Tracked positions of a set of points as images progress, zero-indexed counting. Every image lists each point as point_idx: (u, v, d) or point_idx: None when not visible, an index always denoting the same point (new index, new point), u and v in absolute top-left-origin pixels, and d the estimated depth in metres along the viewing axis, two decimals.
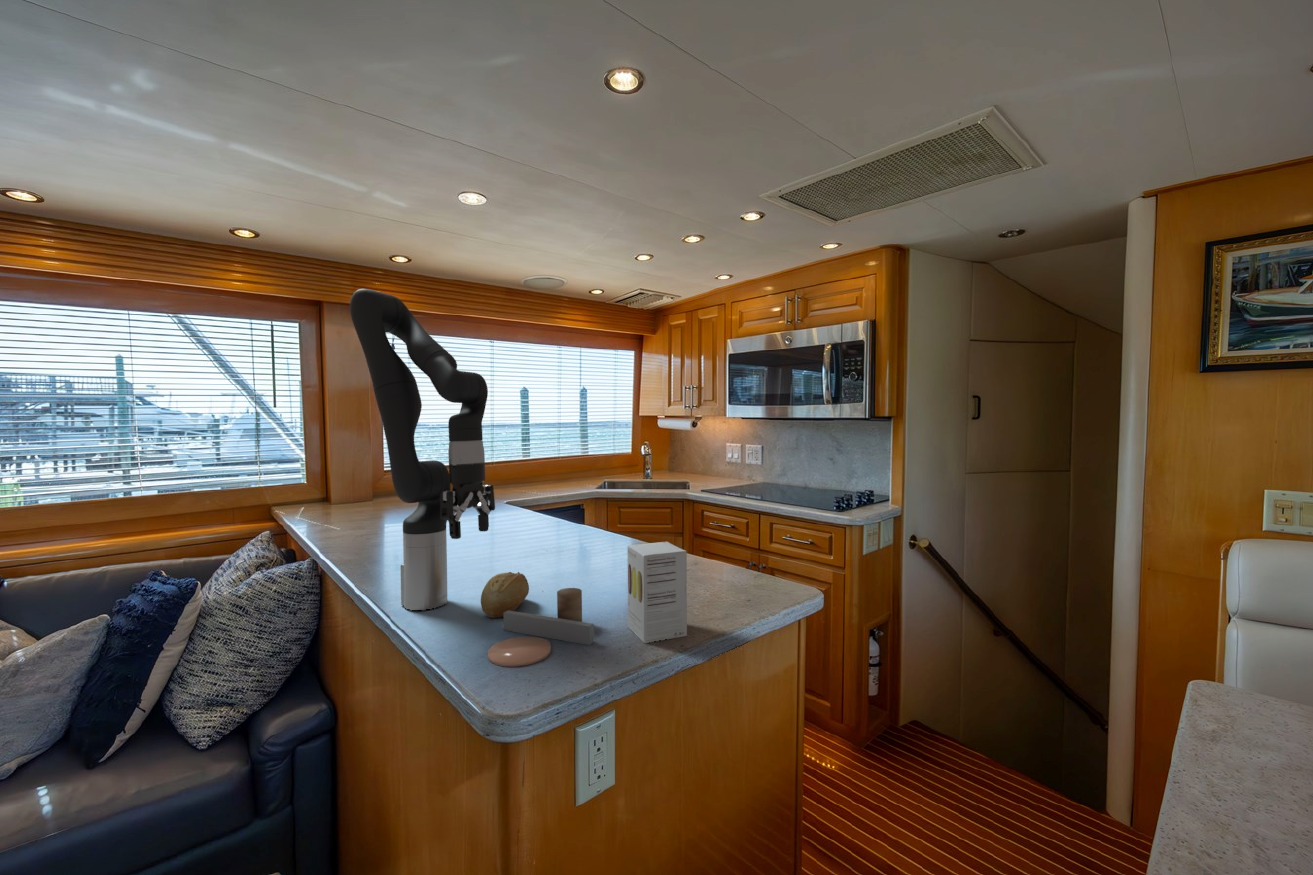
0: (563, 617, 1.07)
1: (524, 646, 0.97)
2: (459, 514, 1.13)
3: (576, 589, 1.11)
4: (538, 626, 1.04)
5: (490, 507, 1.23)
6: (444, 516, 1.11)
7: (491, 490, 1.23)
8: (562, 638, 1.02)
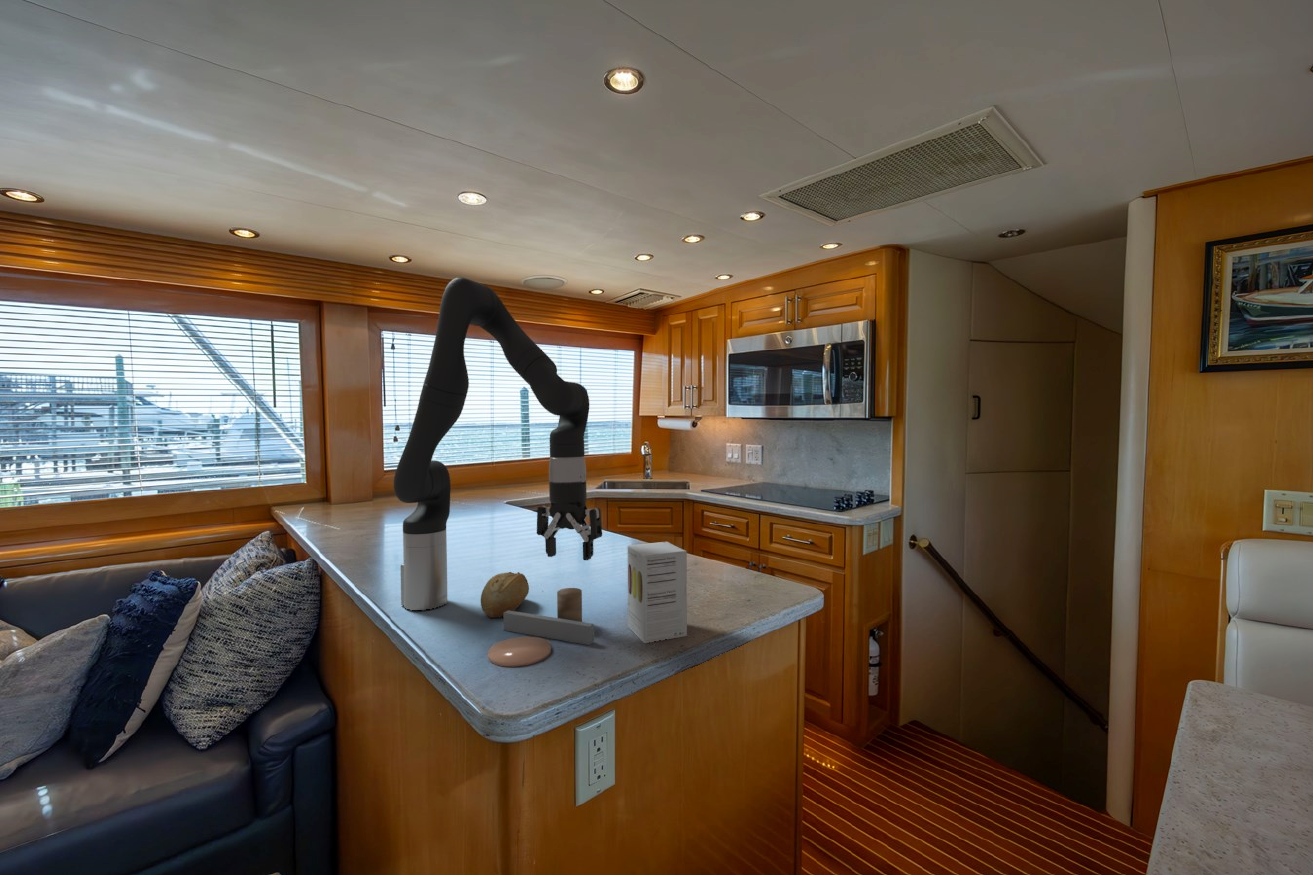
0: (563, 617, 1.07)
1: (524, 646, 0.97)
2: None
3: (576, 589, 1.11)
4: (538, 626, 1.04)
5: None
6: (598, 534, 1.06)
7: None
8: (562, 638, 1.02)
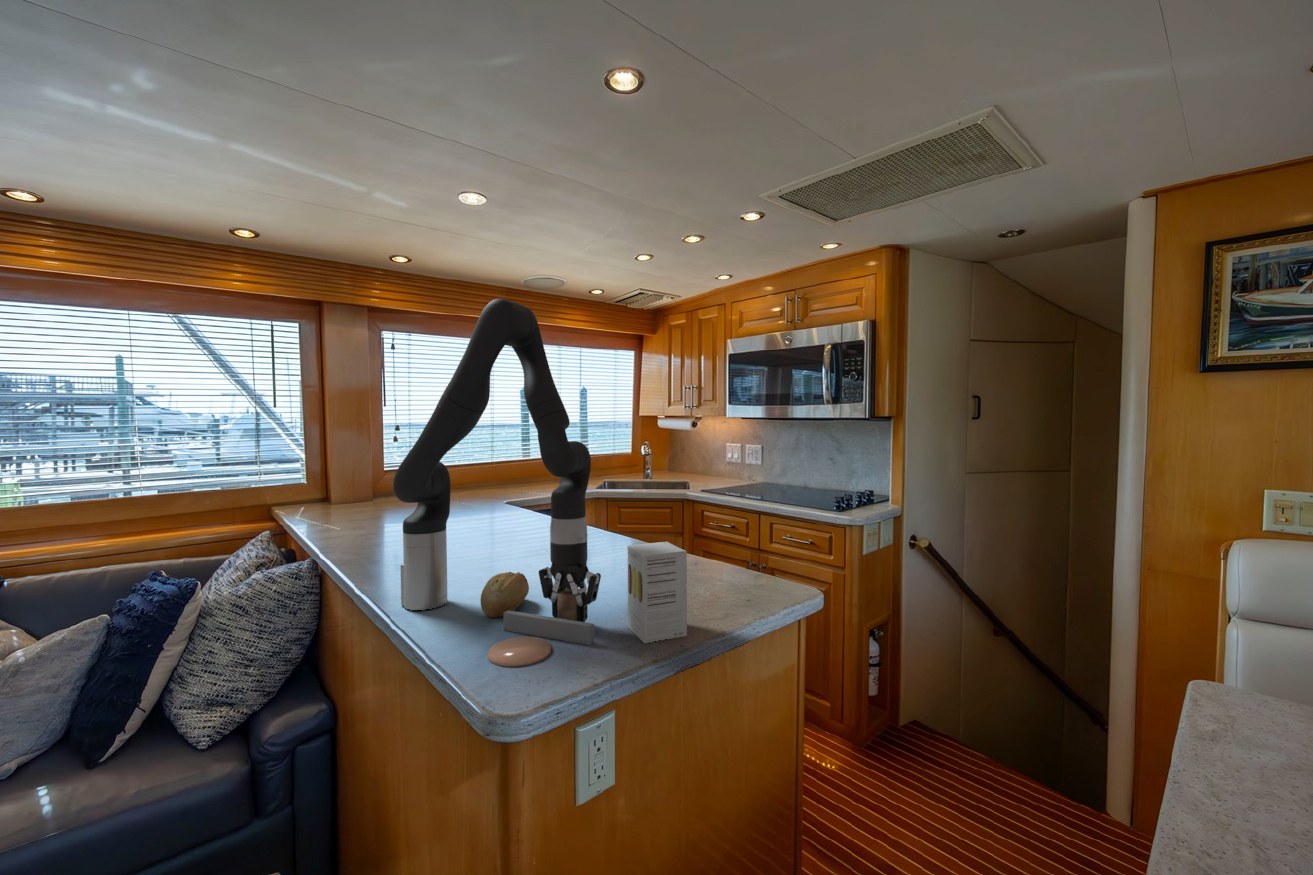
0: (563, 617, 1.07)
1: (524, 646, 0.97)
2: None
3: None
4: (538, 626, 1.04)
5: None
6: (593, 599, 1.07)
7: None
8: (562, 638, 1.02)
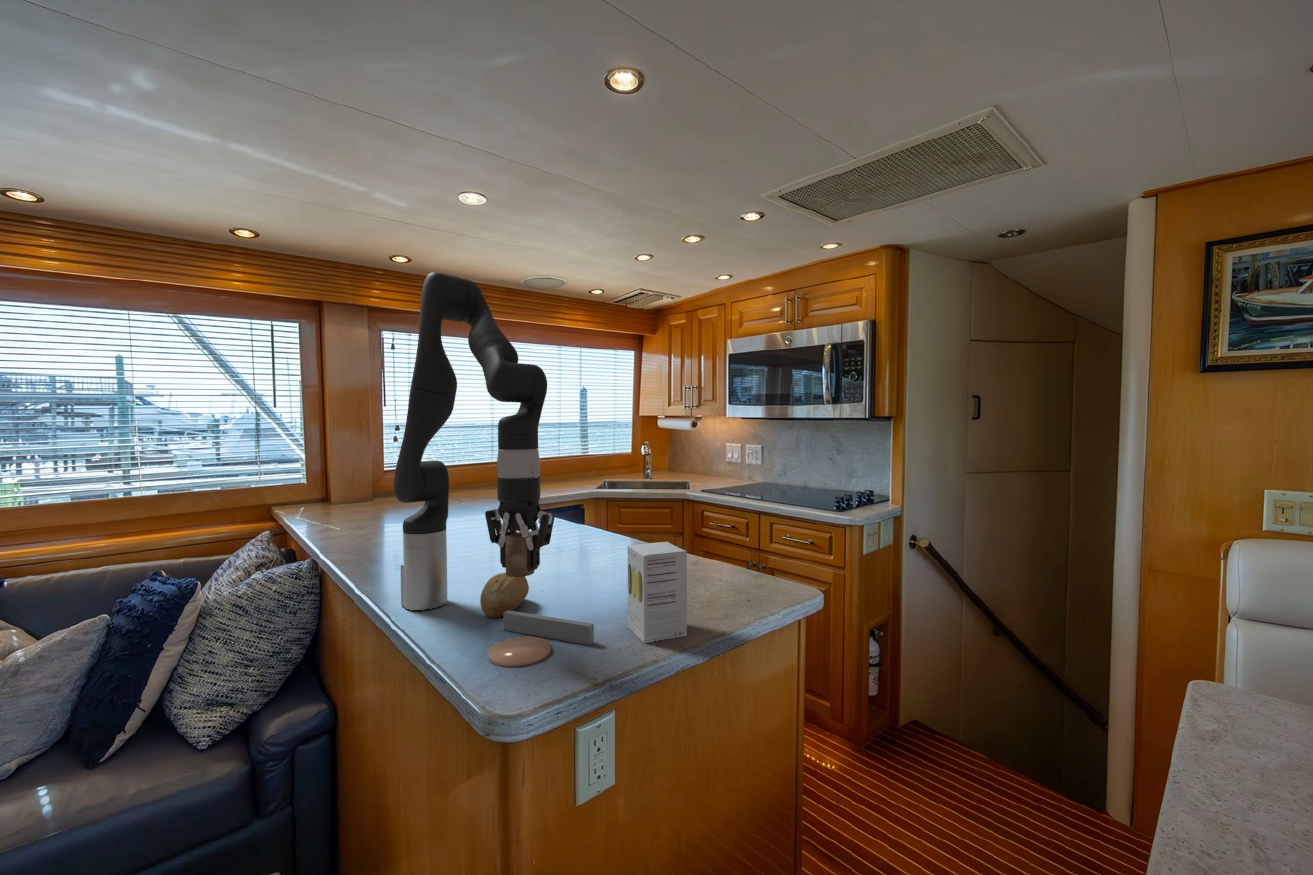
0: (511, 563, 0.94)
1: (524, 646, 0.97)
2: None
3: None
4: (538, 626, 1.04)
5: None
6: (545, 542, 0.94)
7: None
8: (562, 638, 1.02)
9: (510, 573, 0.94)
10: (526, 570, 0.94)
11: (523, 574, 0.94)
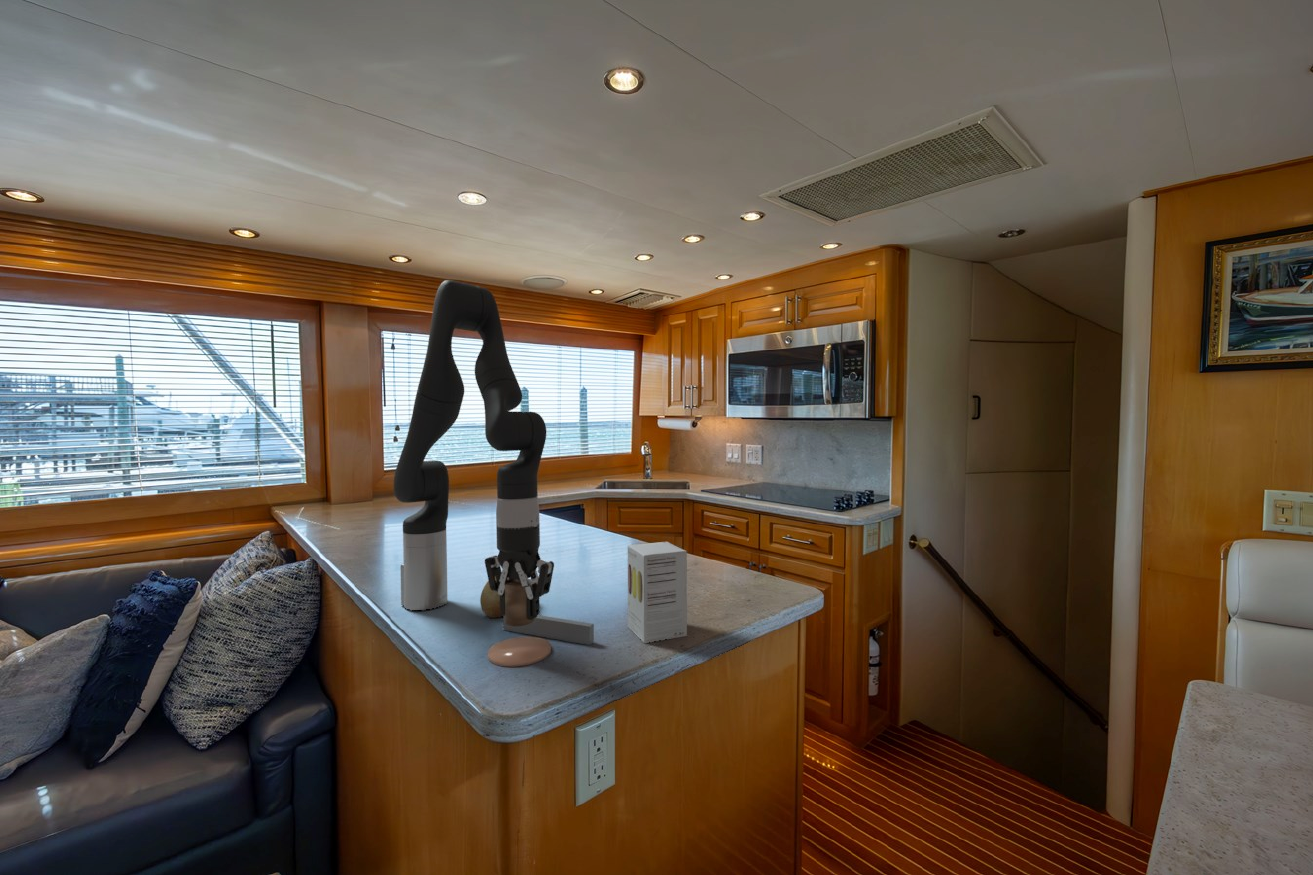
0: (511, 612, 0.94)
1: (524, 646, 0.97)
2: None
3: None
4: (538, 626, 1.04)
5: None
6: (545, 591, 0.94)
7: None
8: (562, 638, 1.02)
9: (510, 622, 0.94)
10: (526, 619, 0.94)
11: (523, 623, 0.94)
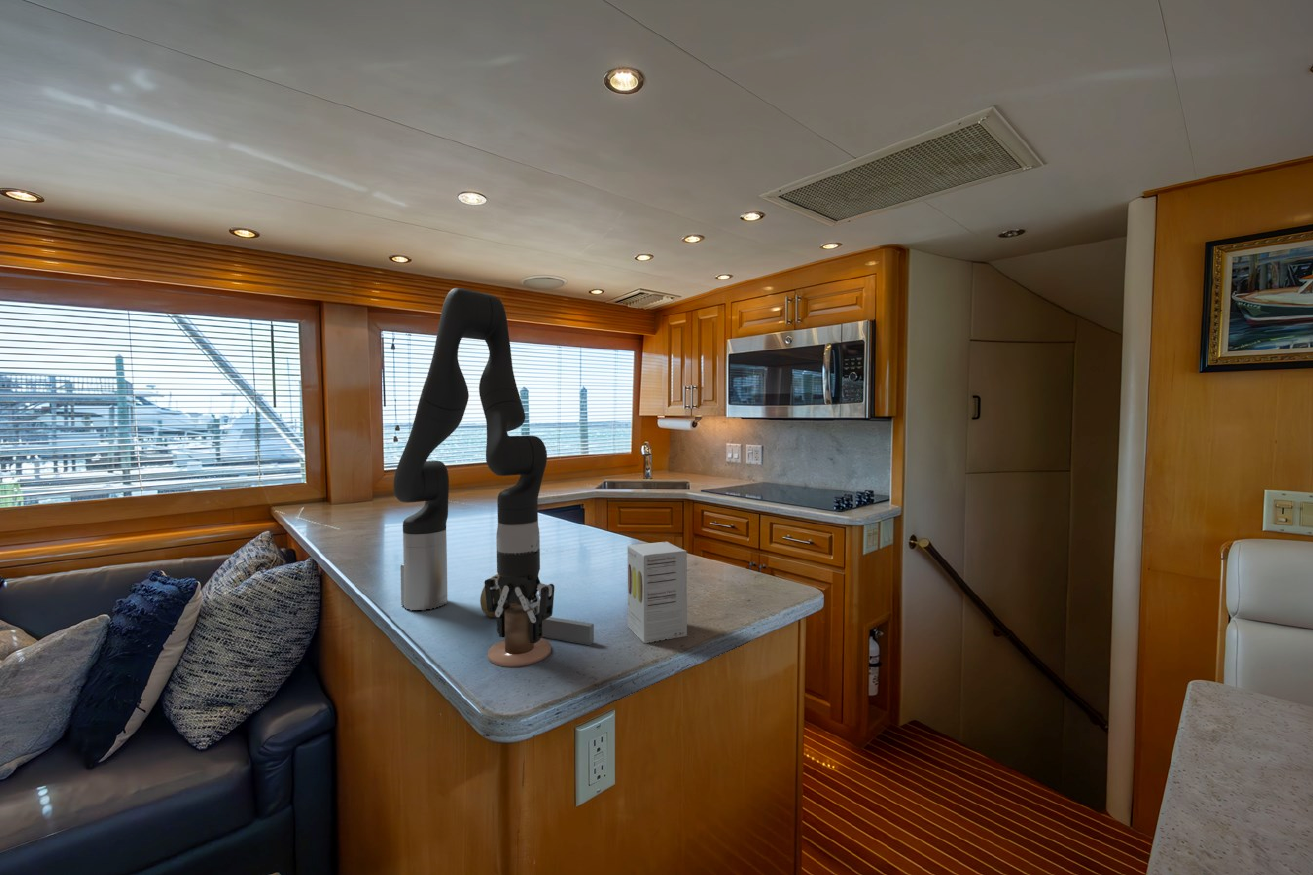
0: (510, 640, 0.94)
1: None
2: None
3: None
4: None
5: None
6: (548, 615, 0.94)
7: None
8: (562, 638, 1.02)
9: (509, 650, 0.94)
10: (525, 647, 0.94)
11: (522, 651, 0.94)
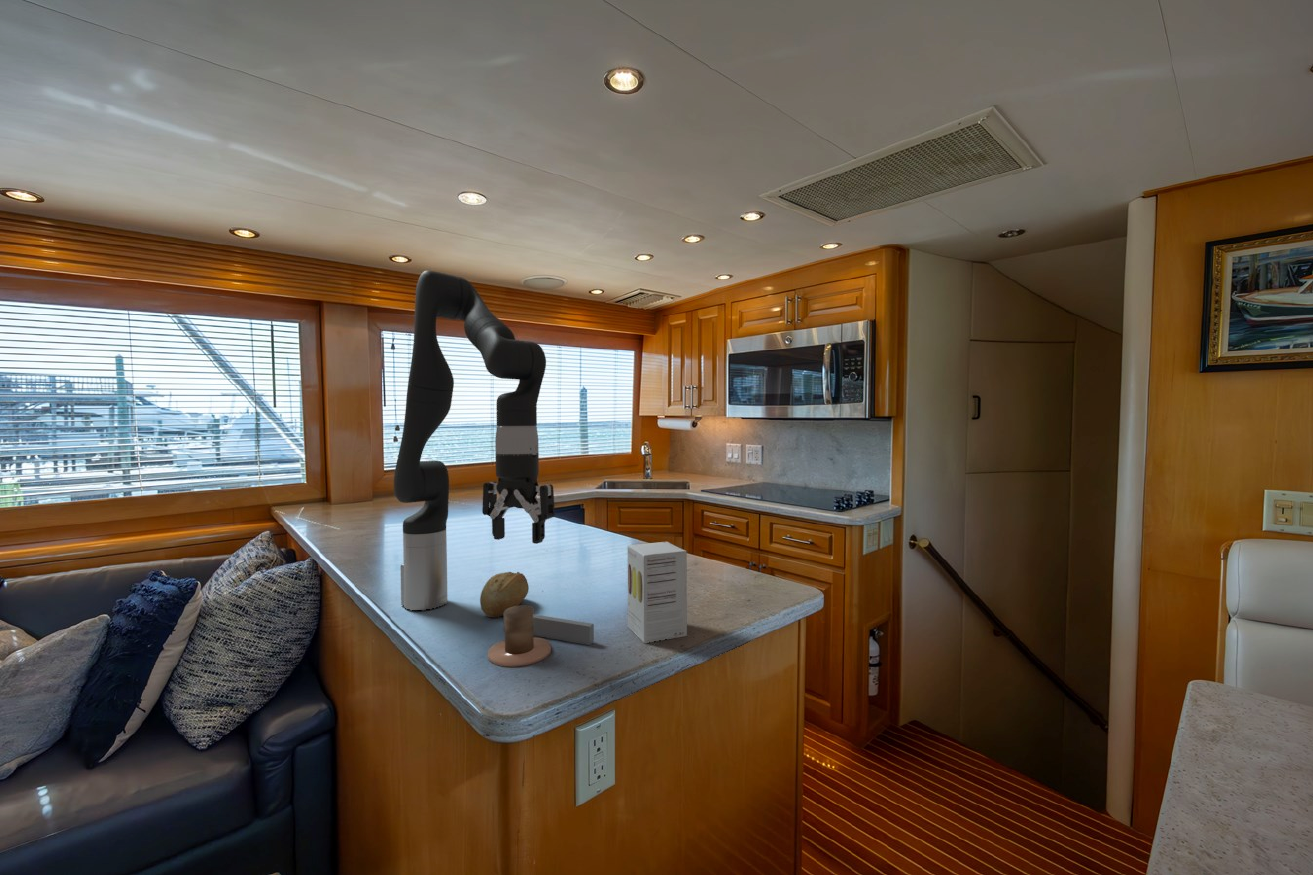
0: (510, 640, 0.94)
1: None
2: None
3: (527, 607, 0.97)
4: (538, 626, 1.04)
5: None
6: (550, 514, 0.93)
7: None
8: (562, 638, 1.02)
9: (509, 650, 0.94)
10: (525, 647, 0.94)
11: (522, 651, 0.94)
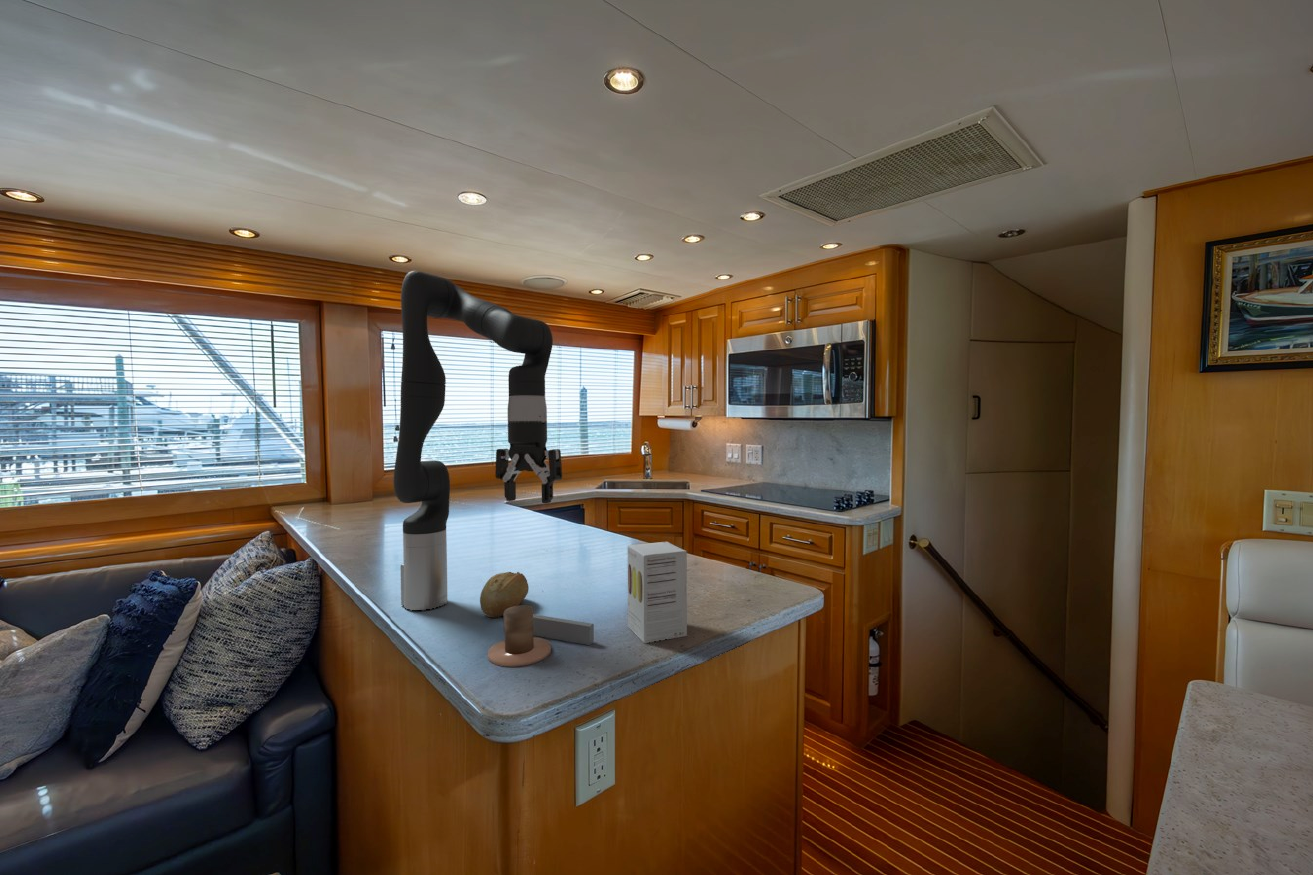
0: (510, 640, 0.94)
1: None
2: None
3: (527, 607, 0.97)
4: (538, 626, 1.04)
5: None
6: (558, 476, 1.02)
7: None
8: (562, 638, 1.02)
9: (509, 650, 0.94)
10: (525, 647, 0.94)
11: (522, 651, 0.94)
